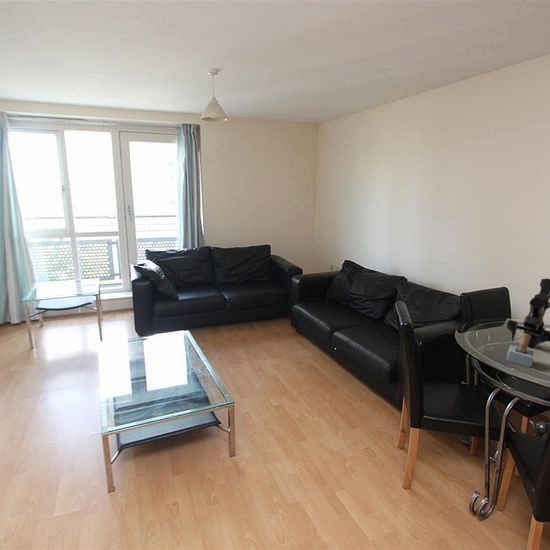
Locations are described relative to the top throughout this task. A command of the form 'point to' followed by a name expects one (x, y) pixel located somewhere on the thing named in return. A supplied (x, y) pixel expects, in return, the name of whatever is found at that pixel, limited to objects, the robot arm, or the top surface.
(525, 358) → the hole block
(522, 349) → the walnut peg
